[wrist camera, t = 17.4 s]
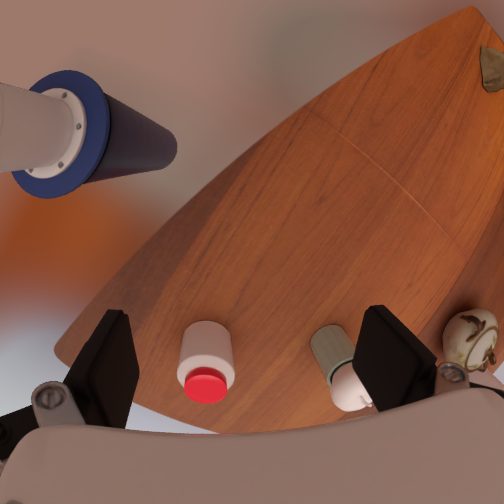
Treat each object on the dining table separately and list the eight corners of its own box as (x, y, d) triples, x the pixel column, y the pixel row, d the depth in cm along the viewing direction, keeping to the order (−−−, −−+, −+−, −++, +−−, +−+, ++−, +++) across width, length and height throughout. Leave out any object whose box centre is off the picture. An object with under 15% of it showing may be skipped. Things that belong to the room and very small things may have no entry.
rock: (499, 106, 33) (516, 87, 31) (511, 83, 25) (527, 65, 23) (460, 71, 37) (479, 55, 34) (467, 45, 29) (486, 31, 26)
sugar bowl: (423, 322, 48) (468, 365, 34) (470, 276, 46) (519, 306, 32) (438, 370, 54) (471, 407, 40) (479, 330, 52) (515, 361, 38)
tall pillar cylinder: (478, 369, 58) (524, 417, 35) (452, 393, 60) (496, 446, 36) (476, 351, 55) (529, 403, 31) (449, 378, 56) (499, 436, 33)
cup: (307, 356, 46) (323, 392, 38) (313, 326, 44) (331, 360, 36) (341, 353, 47) (361, 385, 38) (348, 323, 45) (371, 354, 36)
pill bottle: (214, 312, 41) (214, 358, 31) (240, 347, 44) (247, 396, 34) (172, 333, 42) (162, 381, 31) (200, 366, 44) (198, 415, 34)
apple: (376, 359, 38) (401, 393, 30) (348, 392, 39) (367, 428, 32) (343, 347, 36) (367, 385, 28) (314, 384, 37) (331, 424, 30)
